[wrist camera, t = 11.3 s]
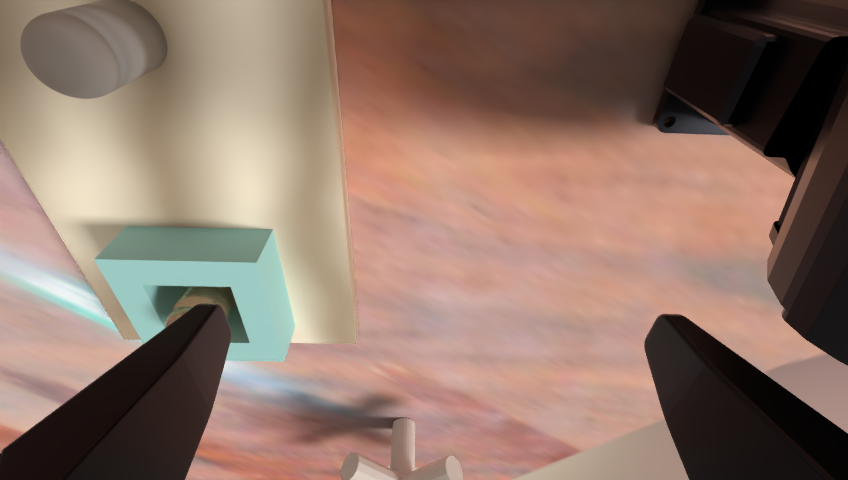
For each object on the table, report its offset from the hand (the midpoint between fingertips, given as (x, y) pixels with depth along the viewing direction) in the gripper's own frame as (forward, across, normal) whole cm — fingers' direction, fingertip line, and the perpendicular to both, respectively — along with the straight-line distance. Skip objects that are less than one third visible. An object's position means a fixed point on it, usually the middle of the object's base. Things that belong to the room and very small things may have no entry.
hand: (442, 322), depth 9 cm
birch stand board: (+12, +11, +3) cm, 17 cm away
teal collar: (+10, +11, +9) cm, 18 cm away
